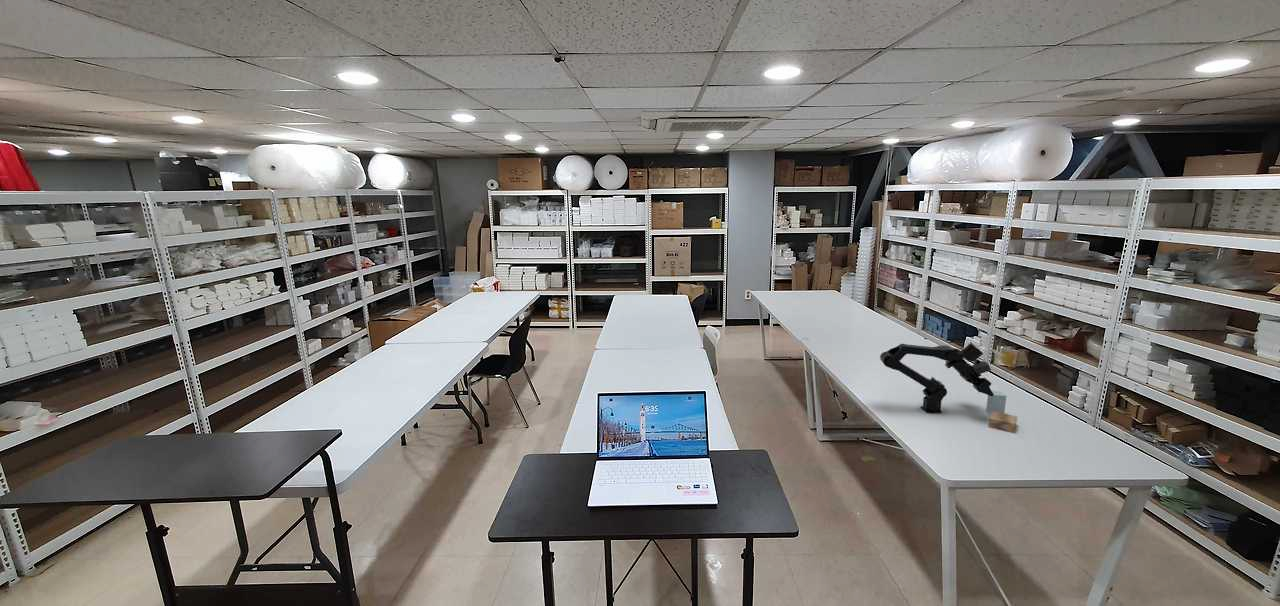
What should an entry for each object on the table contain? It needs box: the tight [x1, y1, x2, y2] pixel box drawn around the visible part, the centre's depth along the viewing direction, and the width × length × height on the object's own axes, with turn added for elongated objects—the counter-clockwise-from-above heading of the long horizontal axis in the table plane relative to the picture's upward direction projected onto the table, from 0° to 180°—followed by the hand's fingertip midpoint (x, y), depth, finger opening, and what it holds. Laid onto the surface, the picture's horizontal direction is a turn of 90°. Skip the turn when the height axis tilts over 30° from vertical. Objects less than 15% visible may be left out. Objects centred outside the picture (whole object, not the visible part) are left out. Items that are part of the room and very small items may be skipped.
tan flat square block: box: [988, 411, 1018, 433], centre depth 204 cm, size 9×9×4 cm
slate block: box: [985, 390, 1007, 416], centre depth 215 cm, size 5×5×10 cm
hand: (988, 391), depth 215 cm, fingers open, 9 cm apart
